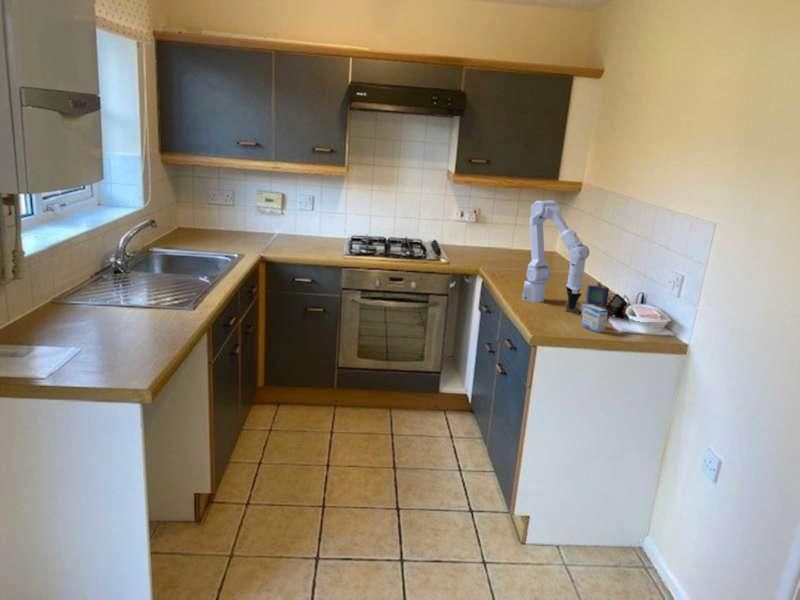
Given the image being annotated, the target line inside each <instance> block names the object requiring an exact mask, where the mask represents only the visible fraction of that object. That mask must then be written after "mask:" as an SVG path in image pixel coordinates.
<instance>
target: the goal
mask: <svg viewBox="0 0 800 600" xmlns="http://www.w3.org/2000/svg"><path fill="white" fill-rule="evenodd" d="M582 304H585V302H584V303H583V302H580V306H581V305H582ZM586 304H587V305H594V304H589V303H586ZM580 306H579V307H580ZM580 313H581V312H580ZM583 313H584V309H582V313H581V314H580V315H581V317H583Z"/></svg>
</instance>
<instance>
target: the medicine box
mask: <svg viewBox="0 0 800 600" xmlns="http://www.w3.org/2000/svg"><path fill="white" fill-rule="evenodd" d="M608 313H609V310H607V309H605V308H603V307H601V306H598V305H595V304H593V305H586V306H585V307H584V313H583V316H582V320H581V326H582V328H584V329H586V330H588V331H592V332H594V333H603V332H605V330H606V324H607V317H608Z"/></svg>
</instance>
